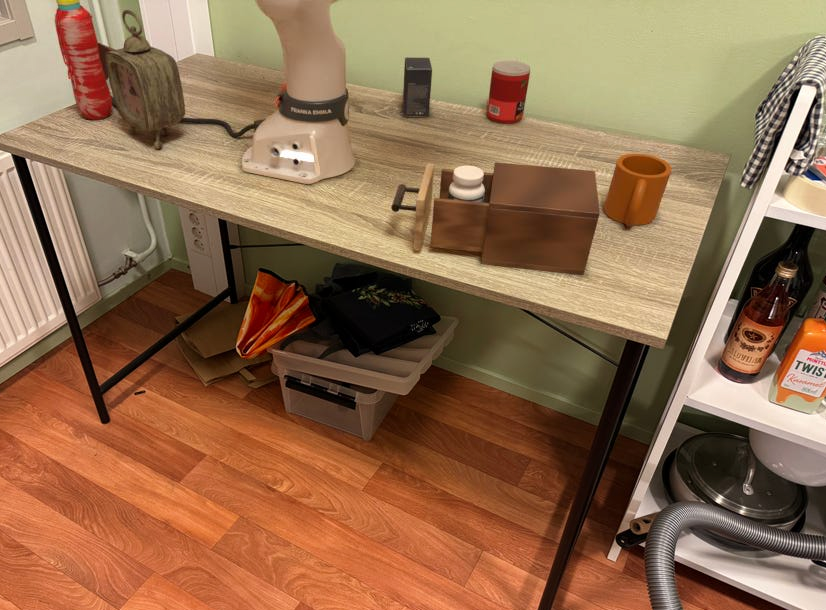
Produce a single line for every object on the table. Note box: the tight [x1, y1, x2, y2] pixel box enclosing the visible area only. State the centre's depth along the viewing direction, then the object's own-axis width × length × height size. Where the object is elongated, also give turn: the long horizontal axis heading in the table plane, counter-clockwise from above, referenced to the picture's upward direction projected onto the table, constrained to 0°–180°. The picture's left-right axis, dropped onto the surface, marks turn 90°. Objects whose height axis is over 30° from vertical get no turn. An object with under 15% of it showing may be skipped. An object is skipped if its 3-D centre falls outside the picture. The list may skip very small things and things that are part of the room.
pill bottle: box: [448, 165, 485, 203], centre depth 109 cm, size 6×6×10 cm
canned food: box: [486, 60, 531, 125], centre depth 148 cm, size 8×8×11 cm
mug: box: [603, 153, 673, 228], centre depth 116 cm, size 9×12×9 cm
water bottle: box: [54, 0, 116, 121], centre depth 147 cm, size 12×8×25 cm, turn 145°
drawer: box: [390, 163, 494, 253], centre depth 110 cm, size 19×13×9 cm, turn 78°
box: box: [402, 57, 433, 118], centre depth 151 cm, size 8×6×11 cm
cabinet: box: [480, 161, 601, 276], centre depth 108 cm, size 16×14×11 cm
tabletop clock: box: [105, 9, 186, 150], centre depth 137 cm, size 14×9×25 cm, turn 42°
